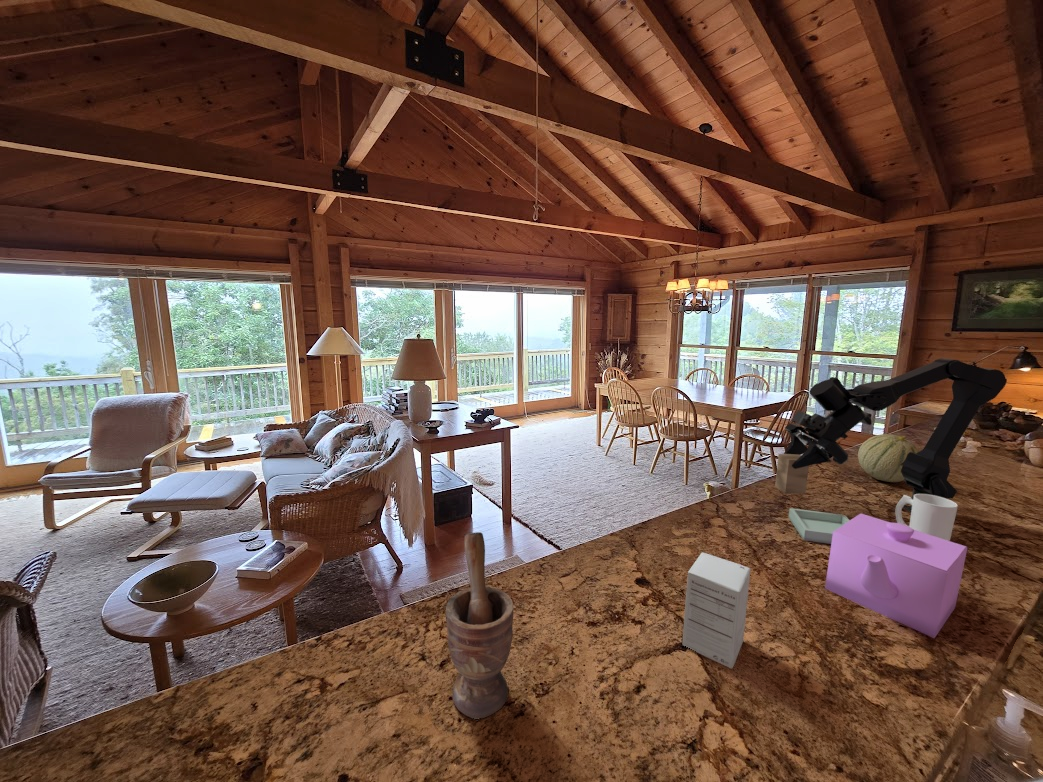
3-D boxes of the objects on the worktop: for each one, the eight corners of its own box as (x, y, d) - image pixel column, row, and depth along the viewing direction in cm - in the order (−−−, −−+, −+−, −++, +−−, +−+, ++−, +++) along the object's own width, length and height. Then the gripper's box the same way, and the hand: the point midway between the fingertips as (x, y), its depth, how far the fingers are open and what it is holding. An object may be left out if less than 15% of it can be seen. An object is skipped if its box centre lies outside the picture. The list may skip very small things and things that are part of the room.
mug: (955, 558, 90) (966, 505, 88) (934, 563, 88) (944, 509, 86) (901, 535, 100) (909, 486, 98) (881, 539, 98) (889, 489, 96)
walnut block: (775, 485, 115) (778, 453, 113) (794, 486, 114) (798, 454, 113) (785, 493, 110) (788, 459, 108) (805, 494, 109) (809, 460, 108)
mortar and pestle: (430, 668, 61) (426, 539, 58) (484, 644, 66) (483, 523, 62) (464, 735, 51) (461, 585, 48) (525, 701, 56) (526, 562, 52)
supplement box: (695, 620, 71) (701, 550, 69) (744, 641, 67) (752, 567, 64) (680, 645, 66) (686, 570, 63) (732, 671, 61) (740, 591, 59)
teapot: (807, 603, 76) (817, 529, 73) (860, 559, 90) (870, 496, 87) (920, 659, 64) (937, 573, 61) (961, 598, 78) (976, 526, 75)
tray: (788, 517, 108) (789, 508, 108) (843, 524, 105) (844, 514, 104) (803, 540, 97) (805, 530, 97) (865, 548, 94) (867, 538, 93)
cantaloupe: (854, 468, 144) (860, 425, 141) (912, 478, 135) (920, 432, 132) (856, 482, 132) (863, 435, 129) (920, 493, 123) (929, 443, 121)
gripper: (796, 394, 117) (750, 432, 119) (841, 408, 98) (786, 453, 101) (822, 422, 117) (776, 460, 120) (872, 442, 99) (817, 486, 102)
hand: (787, 463), depth 111 cm, fingers closed on walnut block, 5 cm apart
